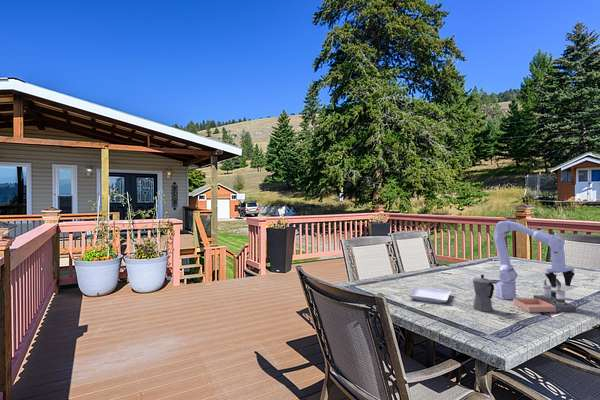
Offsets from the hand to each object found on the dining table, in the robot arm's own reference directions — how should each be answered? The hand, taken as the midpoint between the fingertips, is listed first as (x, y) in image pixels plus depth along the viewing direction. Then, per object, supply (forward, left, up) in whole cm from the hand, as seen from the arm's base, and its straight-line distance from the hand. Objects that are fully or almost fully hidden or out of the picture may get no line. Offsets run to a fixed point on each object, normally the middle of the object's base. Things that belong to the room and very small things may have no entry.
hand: (560, 286), depth 177 cm
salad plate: (-60, +21, -12) cm, 65 cm away
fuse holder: (-1, +4, -11) cm, 12 cm away
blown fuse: (-1, -1, -11) cm, 11 cm away
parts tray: (-14, 0, -11) cm, 18 cm away
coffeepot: (-40, -1, -11) cm, 41 cm away
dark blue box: (+9, +19, -11) cm, 24 cm away
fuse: (-1, +9, -11) cm, 15 cm away
